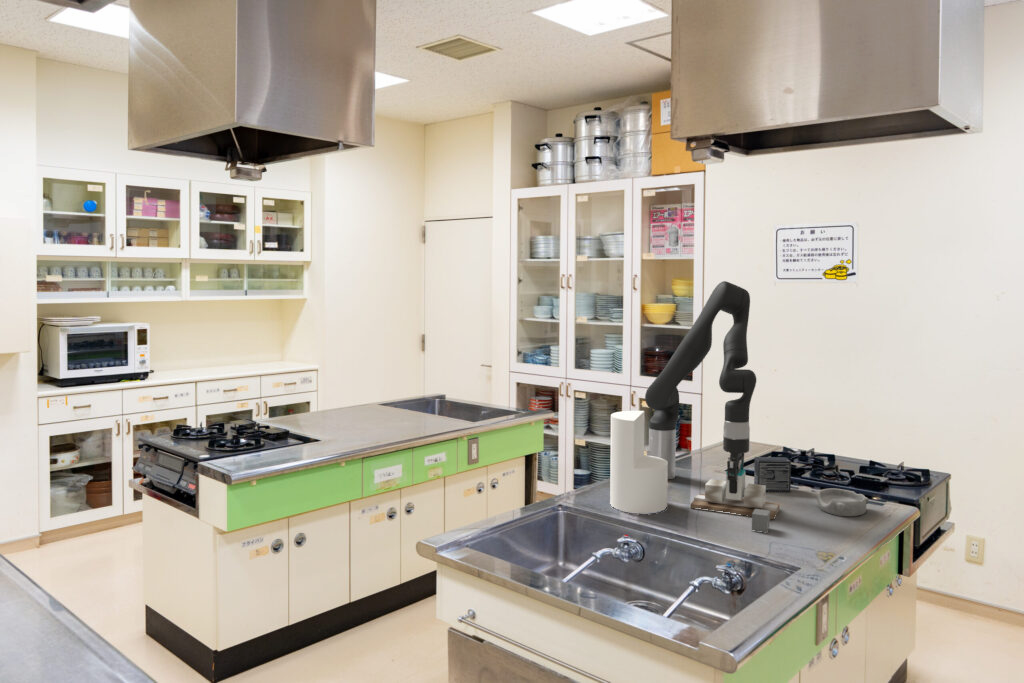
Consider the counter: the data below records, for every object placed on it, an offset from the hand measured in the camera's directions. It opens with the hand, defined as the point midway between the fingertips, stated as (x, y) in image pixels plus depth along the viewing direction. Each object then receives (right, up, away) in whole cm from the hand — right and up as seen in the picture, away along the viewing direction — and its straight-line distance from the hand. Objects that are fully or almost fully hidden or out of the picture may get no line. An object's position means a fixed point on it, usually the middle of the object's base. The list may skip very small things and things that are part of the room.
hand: (735, 490), depth 227 cm
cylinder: (-29, -6, +4) cm, 29 cm away
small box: (+18, -4, +20) cm, 28 cm away
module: (0, -2, 0) cm, 2 cm away
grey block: (+2, -7, -18) cm, 20 cm away
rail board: (0, -6, 0) cm, 6 cm away
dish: (+32, -6, -1) cm, 32 cm away
